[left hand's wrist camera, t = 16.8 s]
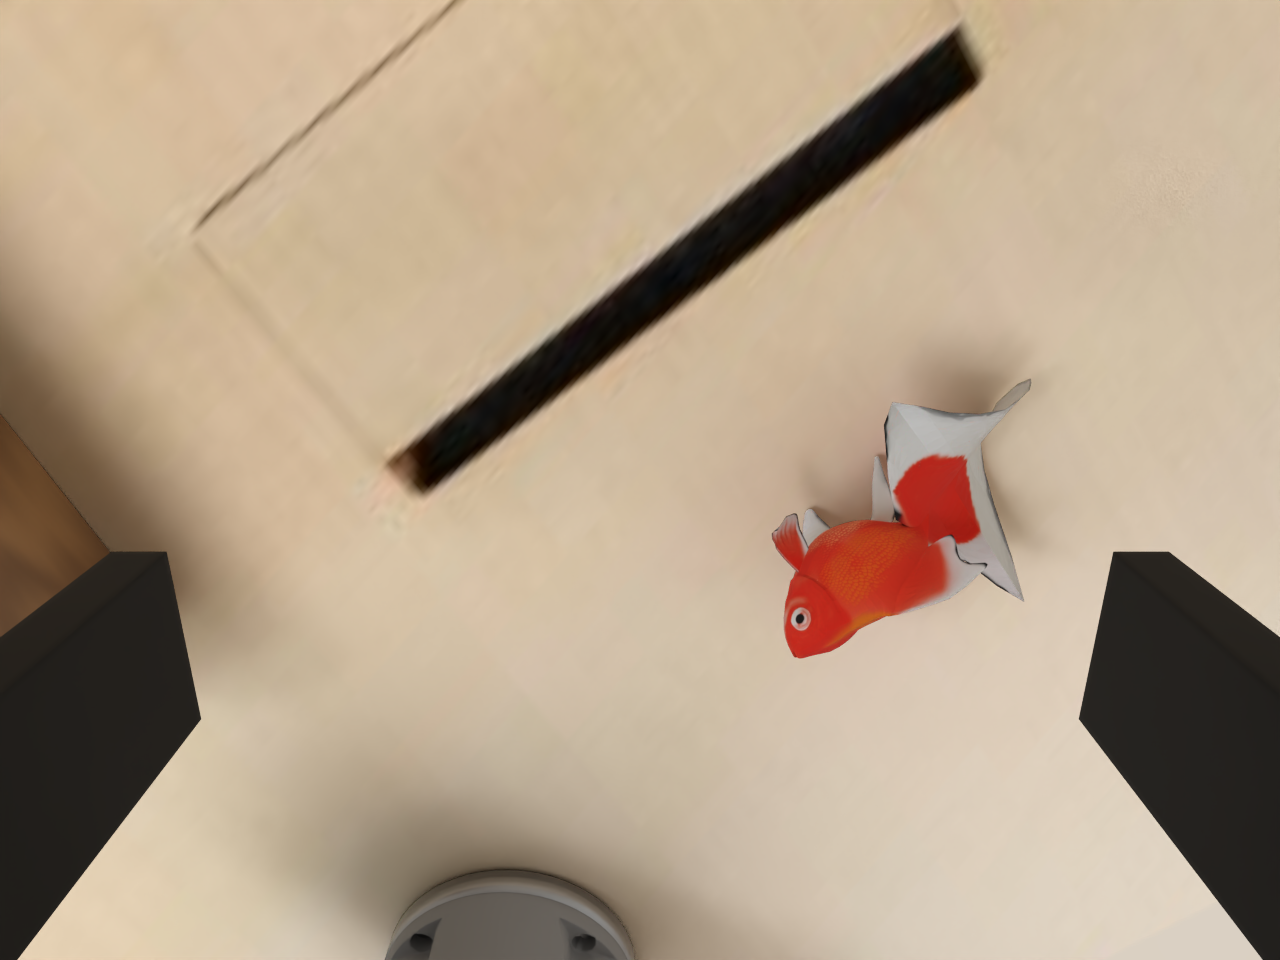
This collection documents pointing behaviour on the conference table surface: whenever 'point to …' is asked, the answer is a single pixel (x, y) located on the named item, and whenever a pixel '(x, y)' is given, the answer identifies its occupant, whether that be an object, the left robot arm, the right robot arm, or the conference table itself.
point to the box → (36, 534)
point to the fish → (901, 532)
